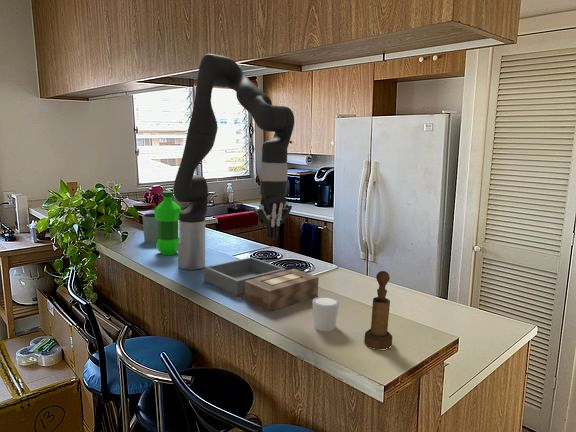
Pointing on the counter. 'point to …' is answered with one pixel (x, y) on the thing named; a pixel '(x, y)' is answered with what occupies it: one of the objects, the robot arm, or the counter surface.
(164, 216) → the plastic bottle
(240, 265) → the charcoal tray
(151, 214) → the drinking glass
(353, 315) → the counter surface
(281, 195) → the robot arm
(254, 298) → the walnut pocket board
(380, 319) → the brown wooden tall figure
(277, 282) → the maple bar
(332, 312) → the white cup
